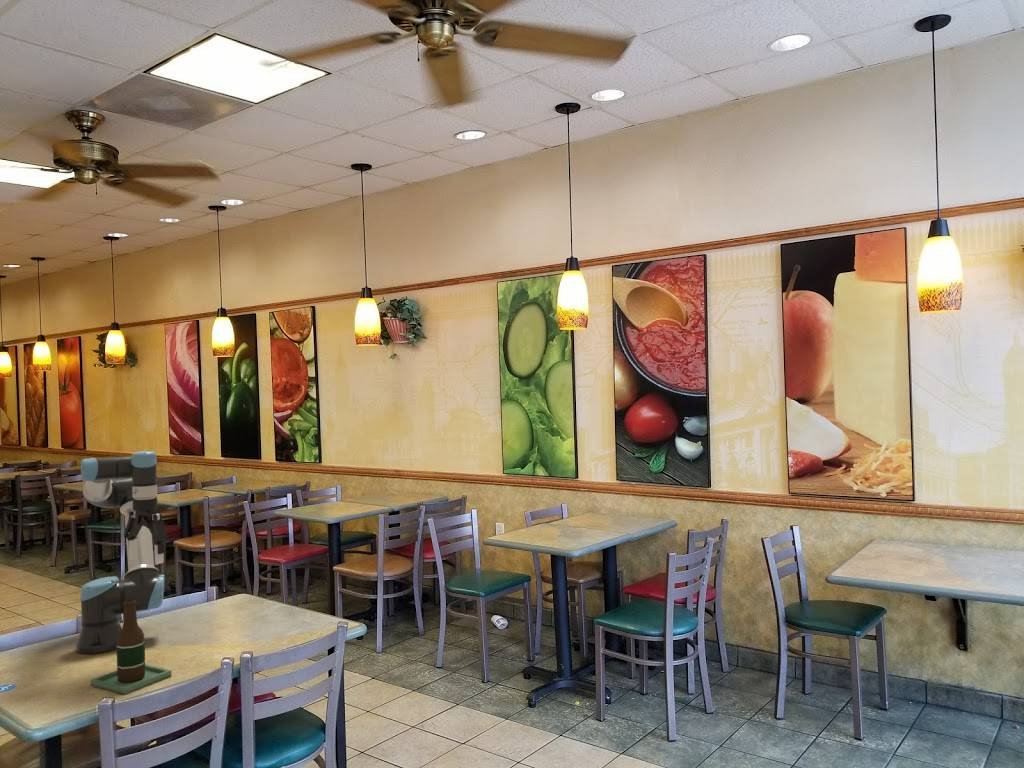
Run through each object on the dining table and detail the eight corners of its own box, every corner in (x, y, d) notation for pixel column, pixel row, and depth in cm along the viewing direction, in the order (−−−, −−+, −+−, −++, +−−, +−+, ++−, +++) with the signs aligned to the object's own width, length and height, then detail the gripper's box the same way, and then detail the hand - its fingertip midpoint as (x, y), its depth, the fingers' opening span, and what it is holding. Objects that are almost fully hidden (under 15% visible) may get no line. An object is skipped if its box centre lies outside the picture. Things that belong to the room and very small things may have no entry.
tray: (90, 685, 235) (90, 679, 235) (138, 668, 249) (138, 662, 249) (124, 694, 228) (124, 688, 228) (171, 676, 242) (171, 670, 242)
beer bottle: (134, 684, 234) (132, 604, 234) (111, 682, 235) (109, 603, 236) (151, 674, 242) (149, 597, 242) (128, 673, 243) (127, 596, 243)
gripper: (111, 497, 262) (112, 559, 263) (158, 502, 250) (160, 568, 250) (131, 493, 269) (133, 555, 269) (179, 498, 256) (180, 562, 257)
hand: (146, 561), depth 260 cm, fingers open, 13 cm apart
